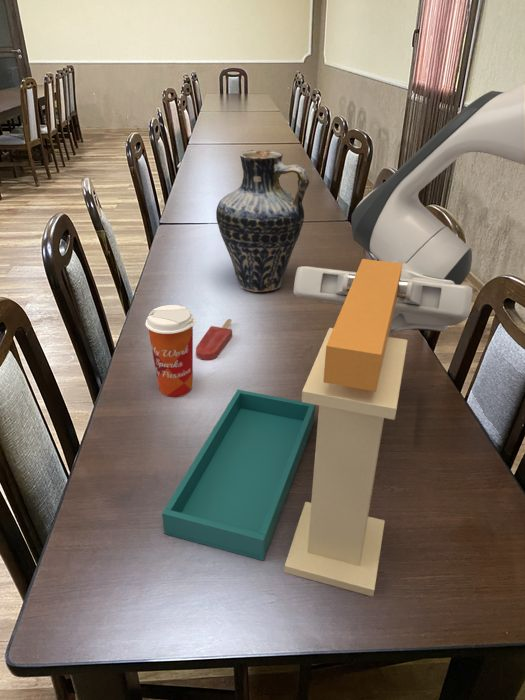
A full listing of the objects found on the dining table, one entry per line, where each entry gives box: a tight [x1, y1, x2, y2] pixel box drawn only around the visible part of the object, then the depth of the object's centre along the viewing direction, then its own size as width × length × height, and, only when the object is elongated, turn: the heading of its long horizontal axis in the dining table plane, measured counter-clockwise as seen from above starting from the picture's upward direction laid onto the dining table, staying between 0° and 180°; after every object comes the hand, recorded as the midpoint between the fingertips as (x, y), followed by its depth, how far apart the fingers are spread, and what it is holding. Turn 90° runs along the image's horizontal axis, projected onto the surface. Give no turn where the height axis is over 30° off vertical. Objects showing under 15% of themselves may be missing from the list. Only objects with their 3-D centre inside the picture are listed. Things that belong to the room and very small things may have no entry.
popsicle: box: [195, 318, 233, 361], centre depth 105 cm, size 4×2×15 cm
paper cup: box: [145, 304, 196, 398], centre depth 88 cm, size 8×8×14 cm
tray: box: [161, 389, 316, 562], centre depth 73 cm, size 27×13×4 cm, turn 163°
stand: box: [283, 327, 408, 598], centre depth 57 cm, size 12×10×26 cm
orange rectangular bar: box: [323, 258, 403, 392], centre depth 52 cm, size 20×4×4 cm, turn 163°
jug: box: [215, 149, 310, 293], centre depth 121 cm, size 21×19×30 cm
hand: (377, 285), depth 57 cm, fingers closed on orange rectangular bar, 4 cm apart
